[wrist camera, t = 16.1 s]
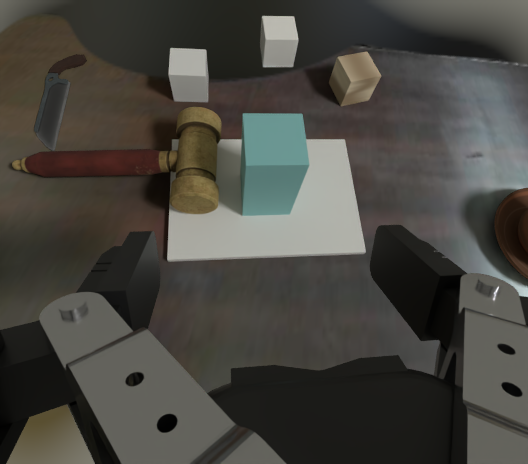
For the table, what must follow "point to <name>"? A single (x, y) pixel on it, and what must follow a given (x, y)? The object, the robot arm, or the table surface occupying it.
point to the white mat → (273, 226)
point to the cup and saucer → (514, 229)
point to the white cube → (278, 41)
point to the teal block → (272, 163)
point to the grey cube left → (188, 75)
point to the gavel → (151, 162)
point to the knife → (55, 101)
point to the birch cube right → (354, 78)
